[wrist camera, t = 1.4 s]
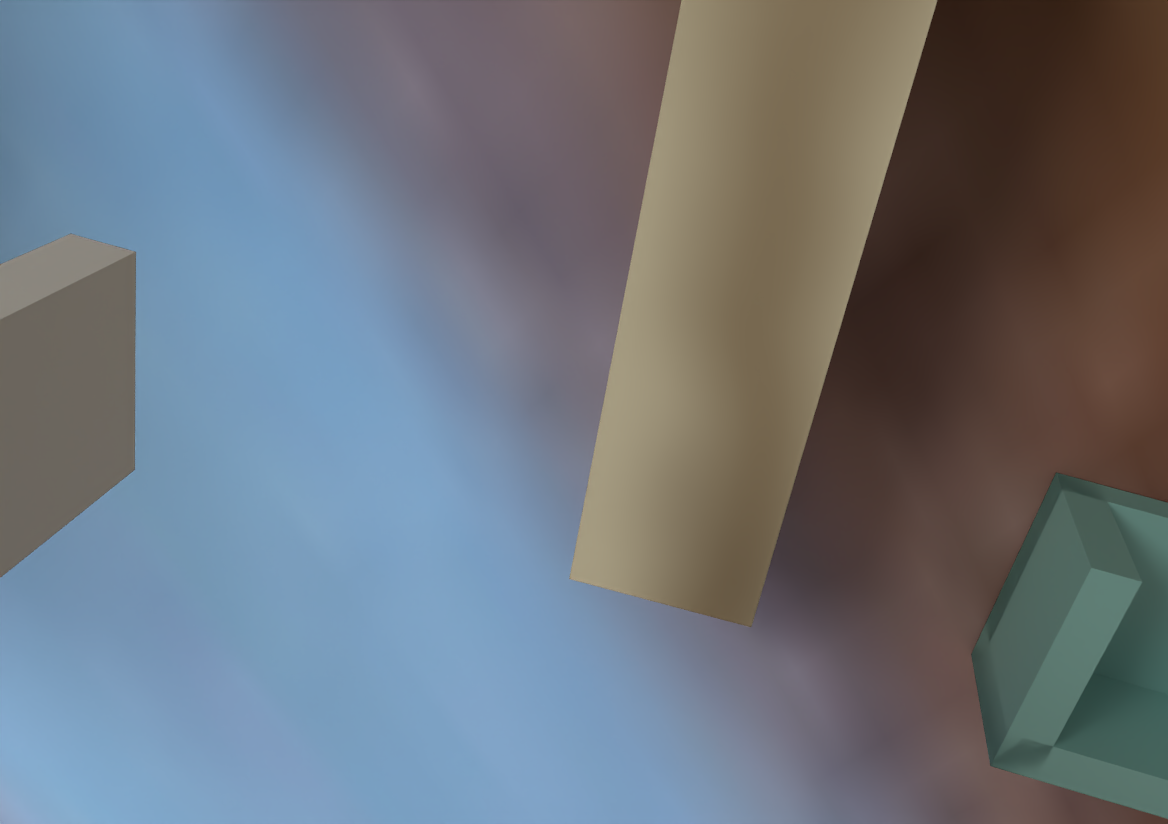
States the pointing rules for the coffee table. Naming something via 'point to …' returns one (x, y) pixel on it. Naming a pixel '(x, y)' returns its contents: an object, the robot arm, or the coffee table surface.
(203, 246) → the coffee table surface
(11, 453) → the robot arm
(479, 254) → the coffee table surface
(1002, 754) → the cap
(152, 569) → the coffee table surface
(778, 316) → the beige long bar
